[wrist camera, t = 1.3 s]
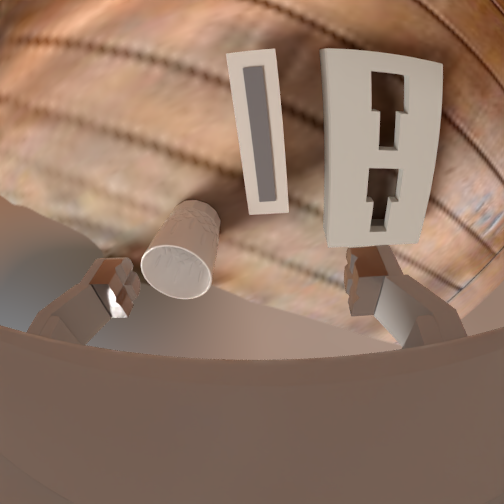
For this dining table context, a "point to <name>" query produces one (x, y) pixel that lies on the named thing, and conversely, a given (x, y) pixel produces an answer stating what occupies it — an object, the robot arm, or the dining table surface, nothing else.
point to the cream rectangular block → (259, 129)
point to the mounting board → (377, 146)
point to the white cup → (184, 251)
